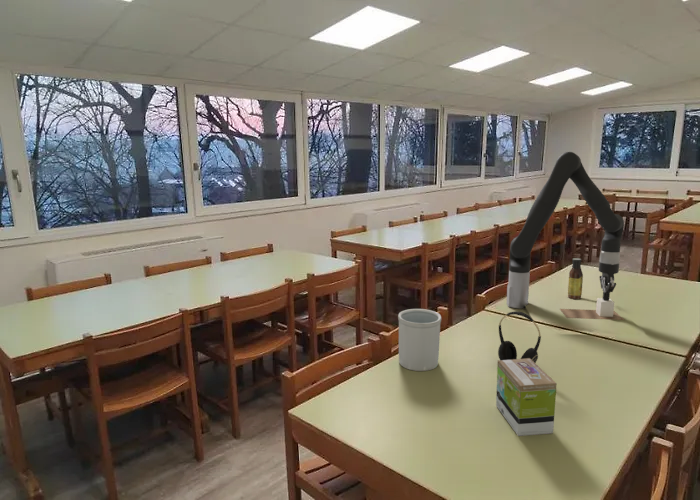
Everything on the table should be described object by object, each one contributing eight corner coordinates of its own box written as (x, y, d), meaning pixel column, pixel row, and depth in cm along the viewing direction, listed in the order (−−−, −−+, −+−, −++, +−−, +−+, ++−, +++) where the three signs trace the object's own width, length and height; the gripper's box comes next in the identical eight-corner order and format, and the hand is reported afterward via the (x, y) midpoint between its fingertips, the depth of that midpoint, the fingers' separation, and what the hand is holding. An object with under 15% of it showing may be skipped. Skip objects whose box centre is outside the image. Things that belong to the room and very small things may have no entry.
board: (566, 321, 199) (566, 317, 198) (559, 311, 210) (559, 308, 210) (624, 323, 195) (624, 319, 194) (613, 313, 206) (613, 310, 206)
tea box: (494, 406, 133) (496, 358, 130) (527, 404, 134) (530, 356, 131) (517, 437, 118) (520, 384, 115) (554, 434, 119) (558, 382, 116)
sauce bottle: (582, 299, 226) (586, 260, 223) (569, 299, 228) (572, 260, 224) (579, 296, 233) (582, 257, 229) (565, 295, 234) (568, 257, 230)
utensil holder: (443, 356, 166) (444, 310, 163) (436, 374, 153) (437, 325, 149) (403, 351, 171) (403, 306, 168) (393, 369, 158) (393, 320, 154)
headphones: (532, 379, 148) (535, 320, 144) (490, 365, 159) (493, 310, 155) (544, 370, 154) (547, 314, 150) (503, 357, 165) (506, 304, 161)
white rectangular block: (600, 316, 199) (601, 301, 198) (595, 312, 204) (597, 298, 203) (612, 316, 198) (614, 302, 197) (608, 312, 203) (609, 298, 202)
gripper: (594, 257, 204) (591, 295, 207) (605, 264, 191) (602, 304, 194) (612, 258, 202) (609, 295, 206) (625, 265, 190) (621, 305, 193)
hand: (605, 300), depth 200 cm, fingers closed
